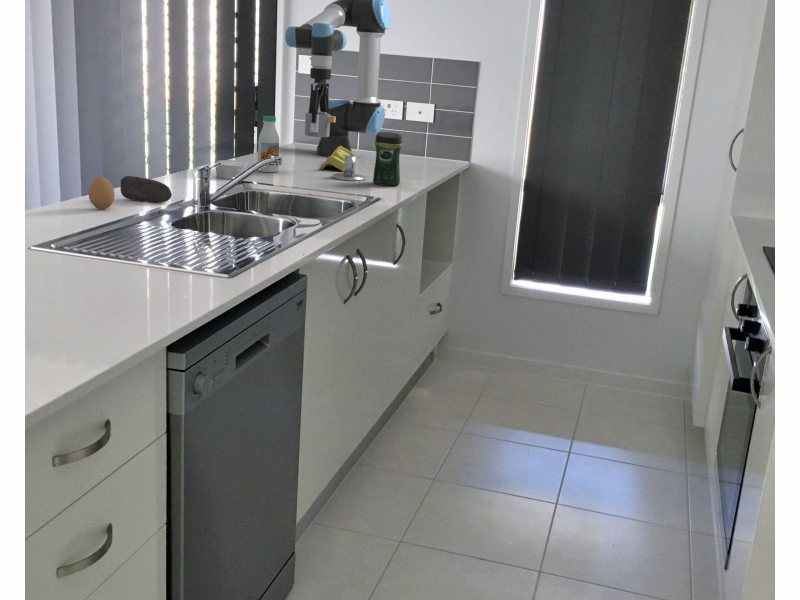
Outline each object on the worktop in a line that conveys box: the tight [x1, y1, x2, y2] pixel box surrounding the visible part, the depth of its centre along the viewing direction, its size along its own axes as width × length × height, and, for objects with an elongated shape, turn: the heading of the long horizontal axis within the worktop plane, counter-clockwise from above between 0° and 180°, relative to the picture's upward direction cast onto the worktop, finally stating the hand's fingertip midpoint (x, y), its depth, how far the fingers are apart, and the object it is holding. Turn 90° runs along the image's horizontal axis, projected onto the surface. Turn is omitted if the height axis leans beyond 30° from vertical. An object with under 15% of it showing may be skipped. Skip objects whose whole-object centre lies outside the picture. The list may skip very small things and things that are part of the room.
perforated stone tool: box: [119, 175, 173, 203], centre depth 248 cm, size 15×5×7 cm, turn 80°
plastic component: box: [319, 146, 357, 173], centre depth 335 cm, size 20×7×10 cm
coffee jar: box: [372, 131, 403, 187], centre depth 304 cm, size 10×8×19 cm
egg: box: [88, 176, 116, 210], centre depth 234 cm, size 7×7×9 cm
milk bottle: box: [257, 115, 280, 173], centre depth 312 cm, size 8×8×20 cm
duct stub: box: [332, 155, 366, 182], centre depth 312 cm, size 12×12×8 cm
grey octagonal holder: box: [304, 112, 336, 138], centre depth 314 cm, size 8×11×8 cm
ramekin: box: [214, 159, 248, 180], centre depth 297 cm, size 11×11×5 cm
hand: (318, 130), depth 315 cm, fingers closed on grey octagonal holder, 8 cm apart
